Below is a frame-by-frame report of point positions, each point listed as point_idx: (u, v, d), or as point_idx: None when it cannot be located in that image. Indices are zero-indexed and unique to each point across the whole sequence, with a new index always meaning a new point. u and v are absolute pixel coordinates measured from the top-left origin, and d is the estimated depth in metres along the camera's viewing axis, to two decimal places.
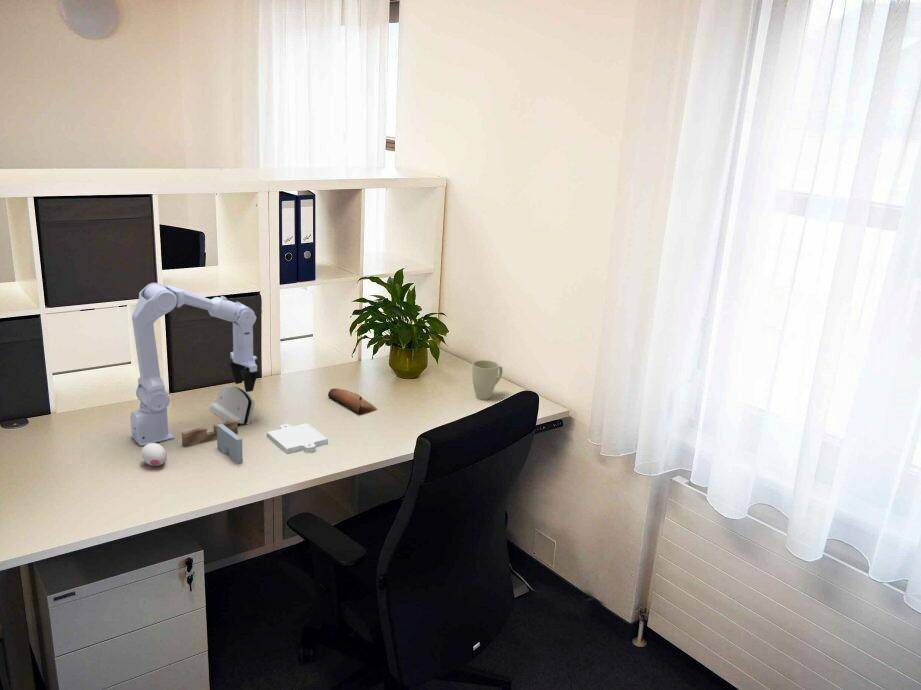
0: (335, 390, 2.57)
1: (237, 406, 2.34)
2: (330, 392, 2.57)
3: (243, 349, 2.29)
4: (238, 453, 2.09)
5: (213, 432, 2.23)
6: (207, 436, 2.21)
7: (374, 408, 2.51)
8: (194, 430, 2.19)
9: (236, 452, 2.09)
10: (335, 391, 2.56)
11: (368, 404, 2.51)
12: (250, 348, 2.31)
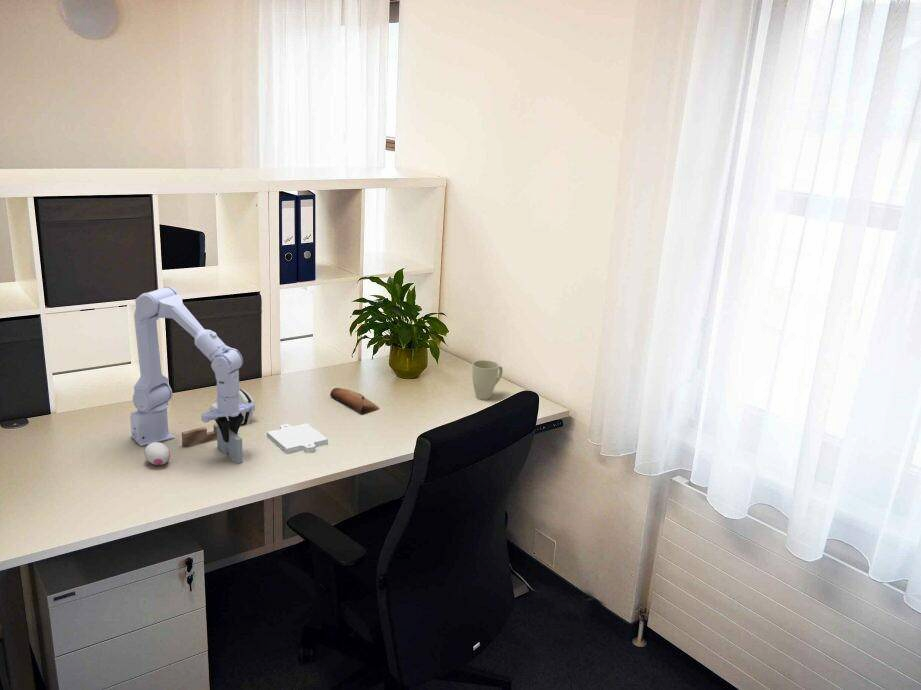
0: (337, 390, 2.57)
1: None
2: (333, 392, 2.58)
3: (217, 396, 2.08)
4: (238, 453, 2.09)
5: (213, 432, 2.23)
6: (207, 436, 2.21)
7: (377, 407, 2.52)
8: (194, 430, 2.19)
9: (236, 452, 2.09)
10: (338, 390, 2.57)
11: (371, 403, 2.51)
12: (221, 399, 2.07)
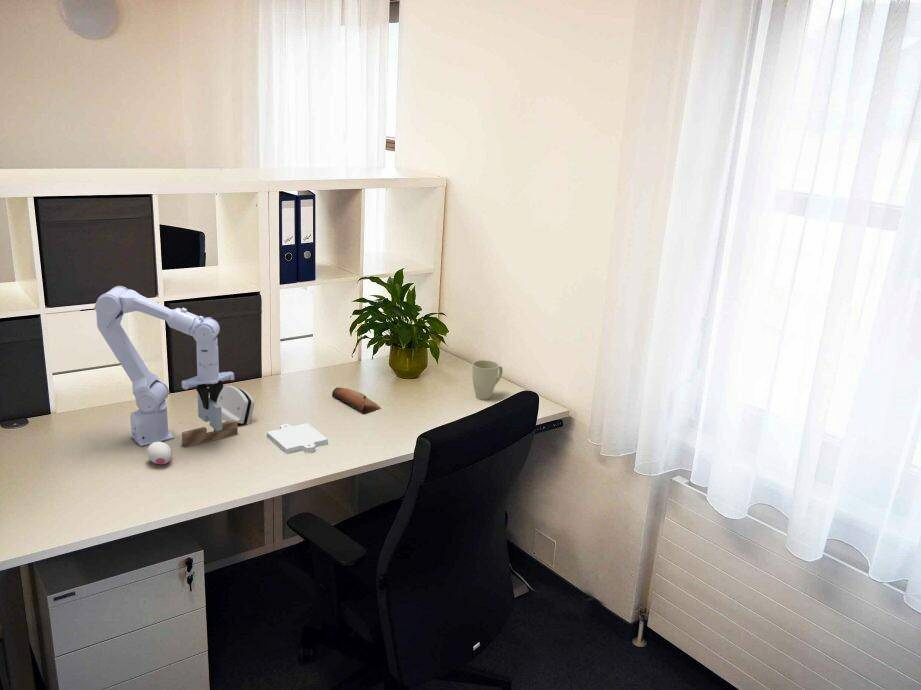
0: (339, 389, 2.57)
1: (237, 406, 2.34)
2: (335, 391, 2.58)
3: (197, 364, 2.15)
4: (217, 421, 2.16)
5: (213, 432, 2.23)
6: (207, 436, 2.21)
7: (378, 407, 2.52)
8: (194, 430, 2.19)
9: (215, 420, 2.16)
10: (339, 390, 2.57)
11: (372, 403, 2.52)
12: (200, 367, 2.13)
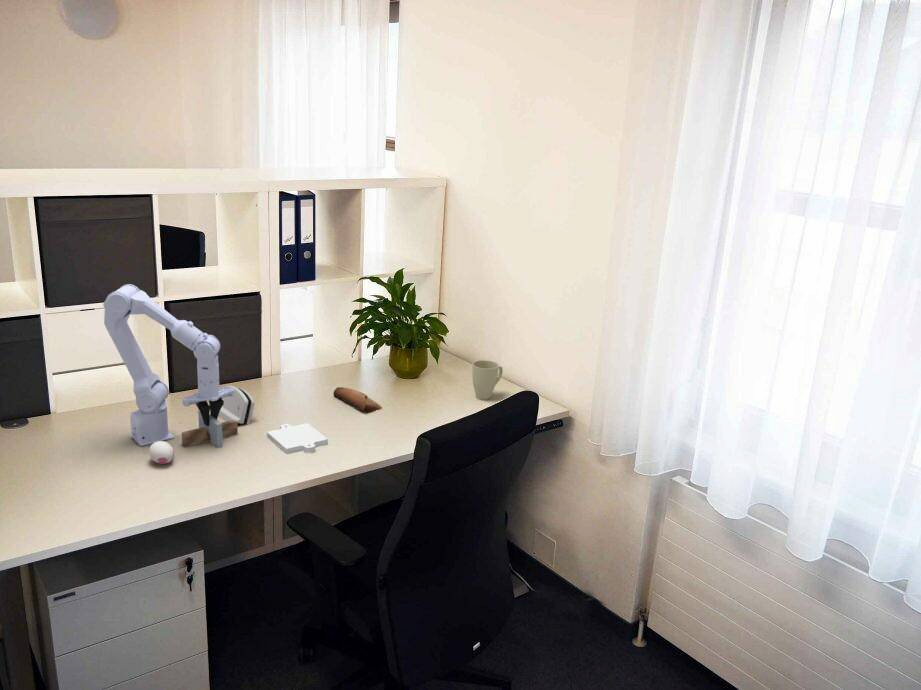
0: (341, 389, 2.58)
1: (237, 406, 2.34)
2: (336, 391, 2.58)
3: None
4: (218, 437, 2.17)
5: None
6: (207, 436, 2.21)
7: (379, 407, 2.52)
8: (194, 430, 2.19)
9: (216, 436, 2.18)
10: (341, 390, 2.57)
11: (374, 403, 2.52)
12: (201, 384, 2.15)
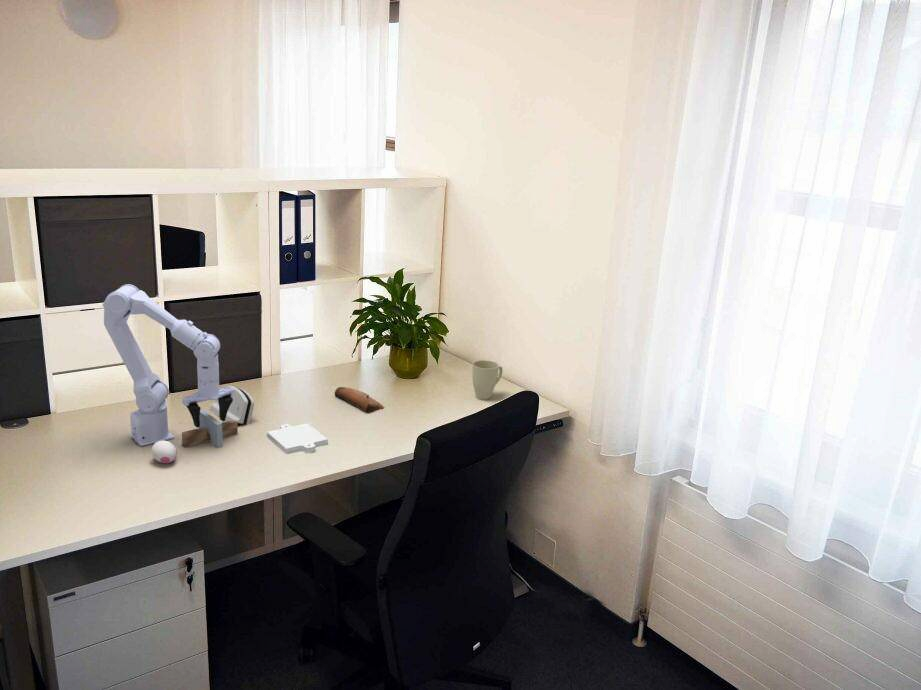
0: (342, 389, 2.58)
1: (237, 406, 2.34)
2: (337, 391, 2.59)
3: None
4: (218, 437, 2.17)
5: None
6: (207, 436, 2.21)
7: (381, 406, 2.53)
8: (194, 430, 2.19)
9: (216, 436, 2.18)
10: (342, 389, 2.58)
11: (375, 402, 2.53)
12: (201, 383, 2.15)
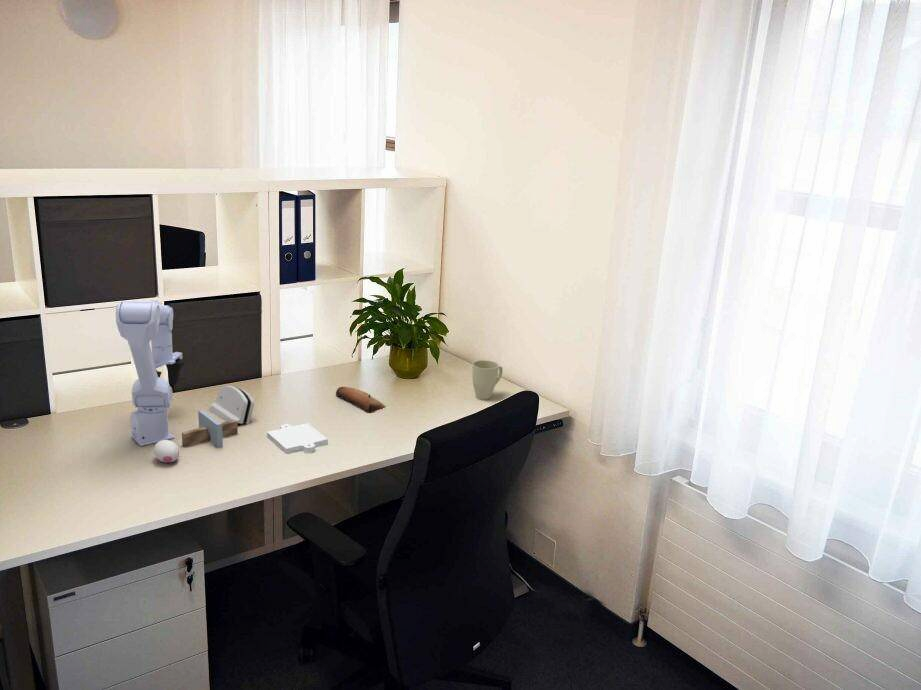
0: (343, 388, 2.58)
1: (237, 406, 2.34)
2: (338, 390, 2.59)
3: (152, 348, 2.27)
4: (218, 437, 2.17)
5: None
6: (207, 436, 2.21)
7: (383, 406, 2.53)
8: (194, 430, 2.19)
9: (216, 436, 2.18)
10: (344, 389, 2.58)
11: (377, 402, 2.53)
12: (158, 349, 2.26)
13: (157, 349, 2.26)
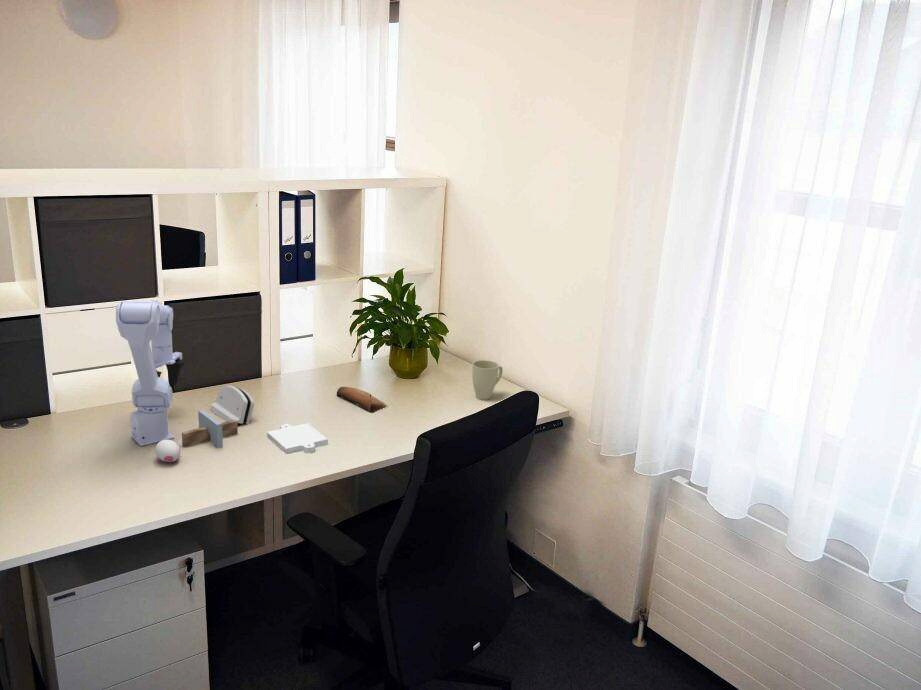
0: (344, 388, 2.58)
1: (237, 406, 2.34)
2: (339, 391, 2.59)
3: (152, 348, 2.27)
4: (218, 437, 2.17)
5: None
6: (207, 436, 2.21)
7: (384, 405, 2.54)
8: (194, 430, 2.19)
9: (216, 436, 2.18)
10: (344, 389, 2.58)
11: (378, 401, 2.54)
12: (158, 349, 2.26)
13: (157, 349, 2.26)
